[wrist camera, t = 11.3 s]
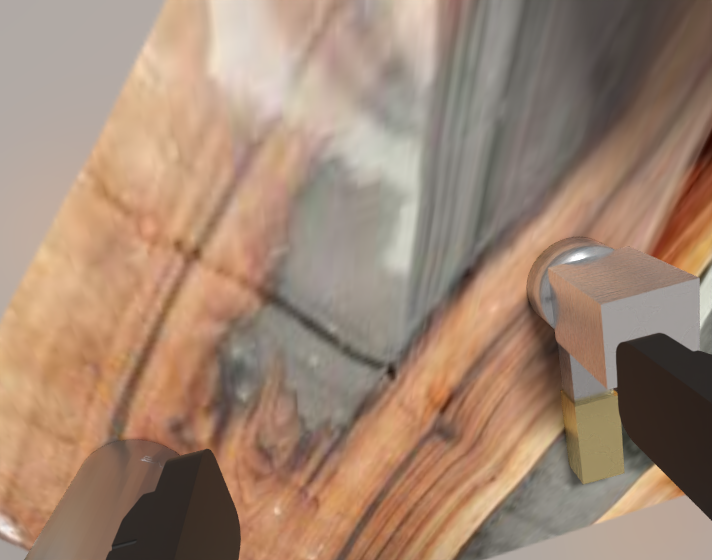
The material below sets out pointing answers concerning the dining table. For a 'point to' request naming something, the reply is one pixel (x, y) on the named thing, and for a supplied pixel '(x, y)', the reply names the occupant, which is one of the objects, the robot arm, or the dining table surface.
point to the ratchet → (580, 378)
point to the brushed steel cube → (621, 306)
